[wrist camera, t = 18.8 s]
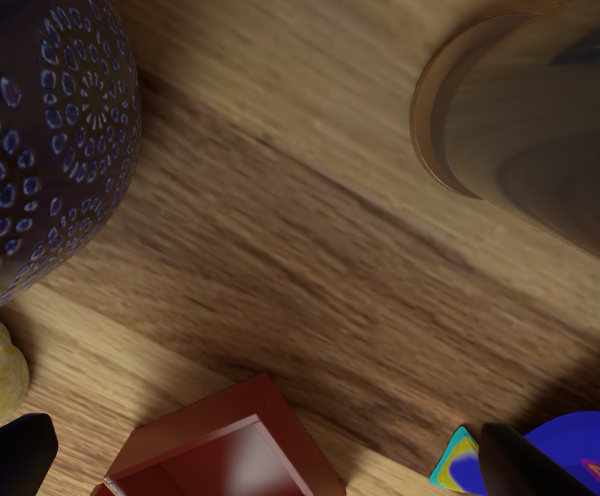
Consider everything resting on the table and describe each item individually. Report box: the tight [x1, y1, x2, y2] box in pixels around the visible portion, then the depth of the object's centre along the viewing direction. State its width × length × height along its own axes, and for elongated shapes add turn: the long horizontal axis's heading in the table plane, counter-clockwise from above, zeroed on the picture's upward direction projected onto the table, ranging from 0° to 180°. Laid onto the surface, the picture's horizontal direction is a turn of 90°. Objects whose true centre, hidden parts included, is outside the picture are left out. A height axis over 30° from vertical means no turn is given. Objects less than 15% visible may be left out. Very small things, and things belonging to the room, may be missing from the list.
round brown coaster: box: [410, 13, 539, 200], centre depth 17 cm, size 8×8×1 cm
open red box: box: [104, 371, 346, 496], centre depth 24 cm, size 10×10×4 cm
